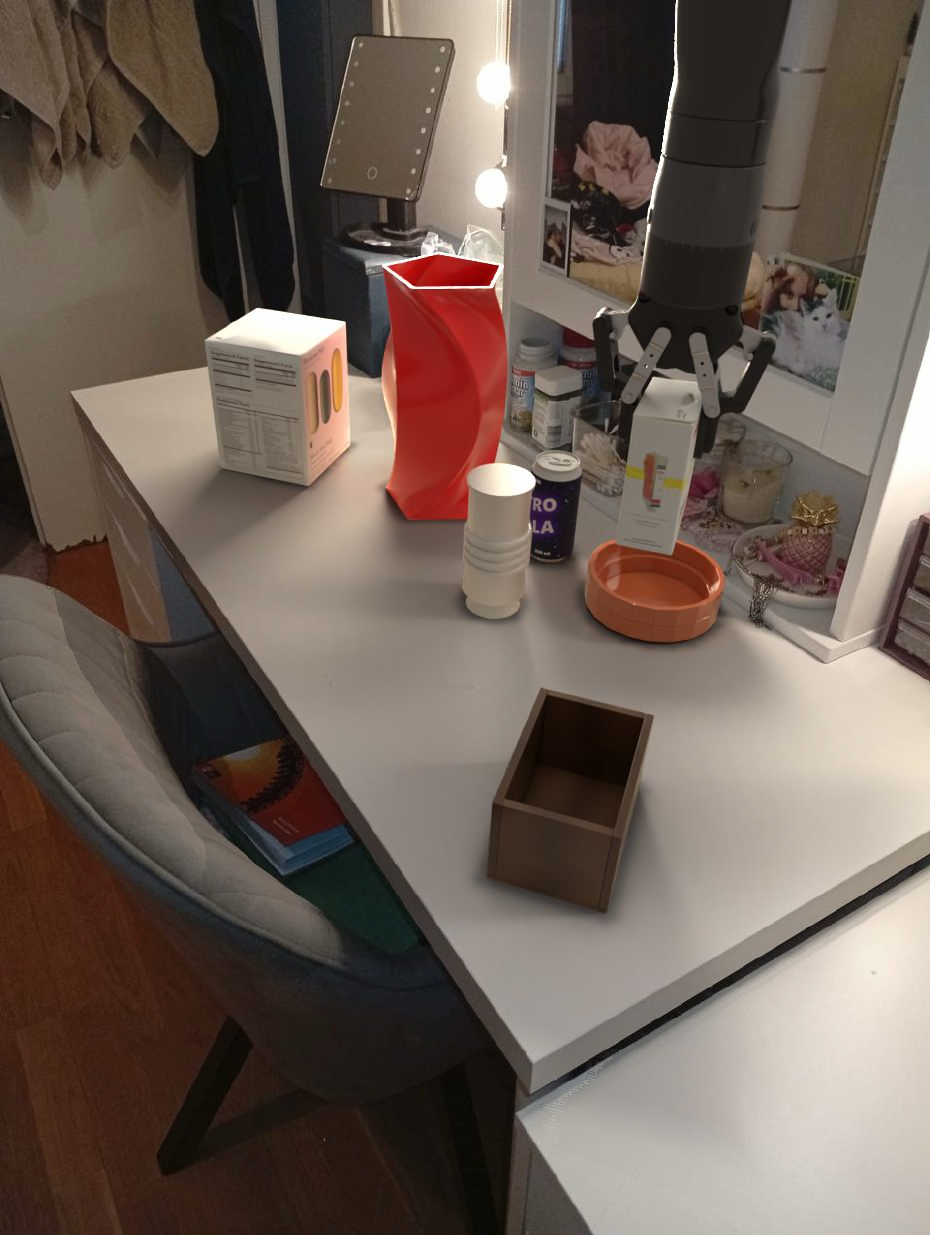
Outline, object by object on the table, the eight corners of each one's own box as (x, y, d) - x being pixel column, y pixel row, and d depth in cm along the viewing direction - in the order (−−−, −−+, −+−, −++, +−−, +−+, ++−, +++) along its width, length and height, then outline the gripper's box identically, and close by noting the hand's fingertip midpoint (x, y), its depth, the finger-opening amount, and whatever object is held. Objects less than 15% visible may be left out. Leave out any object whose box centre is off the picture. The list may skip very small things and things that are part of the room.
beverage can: (526, 537, 111) (534, 446, 104) (573, 542, 111) (584, 451, 104) (521, 563, 107) (529, 469, 100) (571, 568, 106) (583, 474, 99)
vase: (467, 535, 111) (476, 299, 95) (358, 509, 115) (349, 279, 99) (507, 480, 123) (523, 261, 106) (407, 458, 127) (407, 244, 110)
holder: (638, 788, 79) (654, 714, 74) (606, 914, 69) (622, 838, 64) (532, 760, 82) (540, 687, 77) (486, 878, 71) (492, 802, 66)
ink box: (632, 498, 84) (652, 371, 77) (687, 509, 82) (712, 381, 75) (611, 545, 77) (631, 411, 70) (671, 557, 76) (697, 423, 69)
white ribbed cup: (531, 619, 98) (544, 494, 89) (466, 624, 97) (472, 498, 88) (517, 583, 104) (528, 461, 95) (456, 587, 103) (461, 464, 94)
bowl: (723, 584, 105) (731, 550, 102) (707, 658, 94) (716, 622, 91) (599, 558, 108) (604, 525, 106) (571, 627, 97) (575, 591, 95)
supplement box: (309, 488, 119) (300, 356, 109) (219, 469, 122) (201, 339, 112) (352, 445, 129) (348, 320, 119) (267, 429, 132) (256, 306, 122)
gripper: (810, 227, 66) (758, 445, 76) (613, 205, 70) (588, 416, 80) (804, 254, 61) (748, 486, 71) (589, 228, 64) (566, 452, 74)
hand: (663, 448), depth 75 cm, fingers closed on ink box, 5 cm apart
